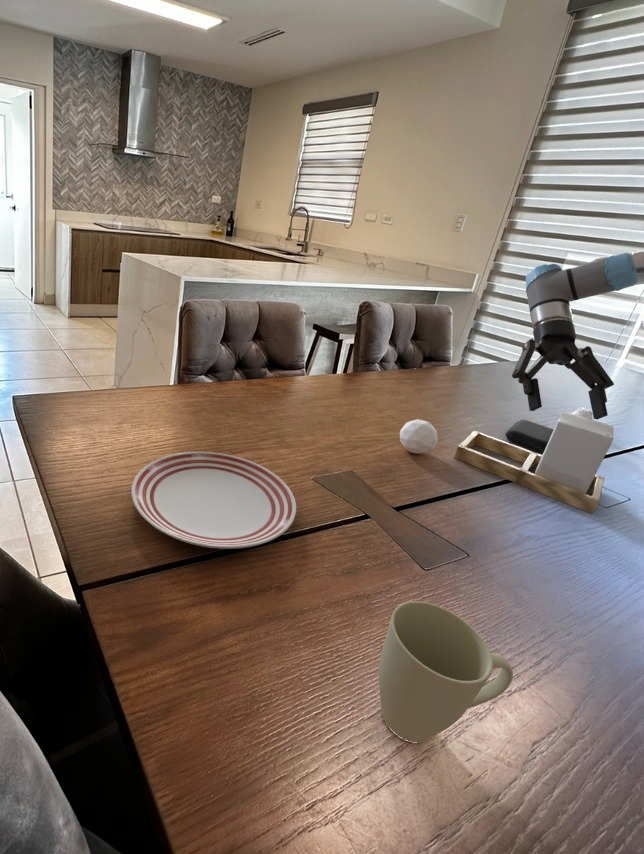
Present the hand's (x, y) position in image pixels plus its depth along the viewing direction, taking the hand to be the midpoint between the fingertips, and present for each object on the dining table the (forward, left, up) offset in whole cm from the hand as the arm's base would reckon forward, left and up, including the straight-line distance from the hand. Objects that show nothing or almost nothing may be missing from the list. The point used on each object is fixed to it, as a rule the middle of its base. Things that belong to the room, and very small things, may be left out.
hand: (568, 413), depth 100 cm
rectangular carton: (-4, +5, -15) cm, 16 cm away
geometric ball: (+22, +17, -15) cm, 32 cm away
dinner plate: (+37, +70, -15) cm, 80 cm away
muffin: (-3, -37, -15) cm, 40 cm away
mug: (-1, +80, -15) cm, 81 cm away
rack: (+2, +5, -15) cm, 16 cm away
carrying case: (+4, -17, -15) cm, 23 cm away
